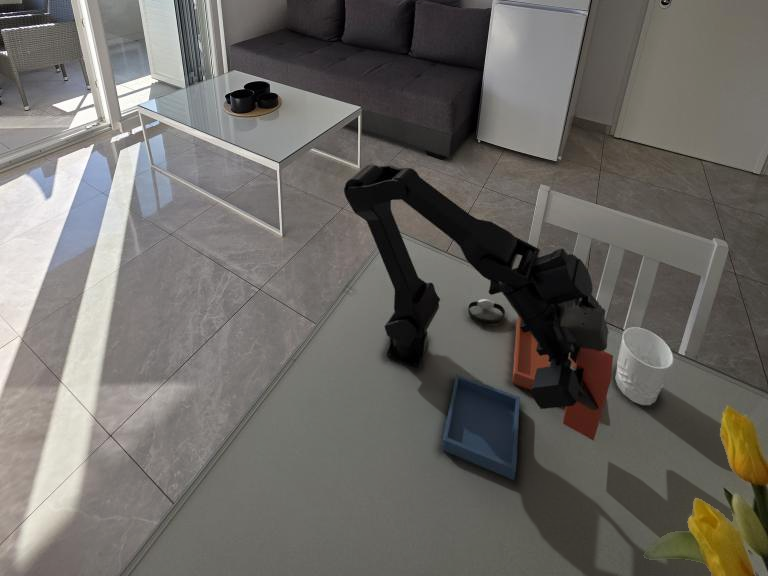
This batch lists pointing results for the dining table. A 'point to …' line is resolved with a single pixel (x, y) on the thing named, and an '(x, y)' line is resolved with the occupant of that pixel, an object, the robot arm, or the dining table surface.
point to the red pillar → (598, 385)
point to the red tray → (527, 358)
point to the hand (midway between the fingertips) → (597, 394)
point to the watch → (486, 305)
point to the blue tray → (483, 426)
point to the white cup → (642, 365)
